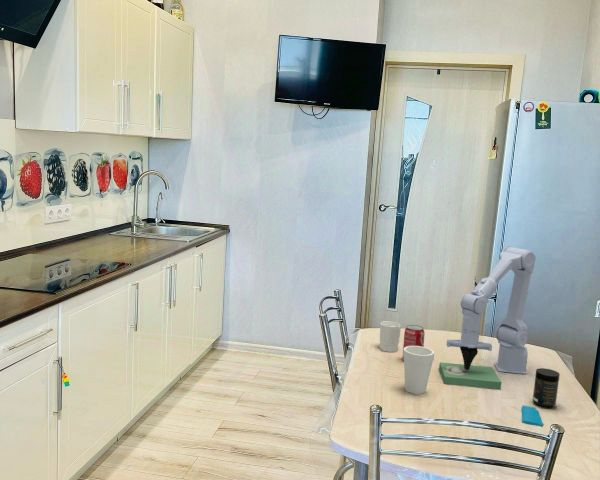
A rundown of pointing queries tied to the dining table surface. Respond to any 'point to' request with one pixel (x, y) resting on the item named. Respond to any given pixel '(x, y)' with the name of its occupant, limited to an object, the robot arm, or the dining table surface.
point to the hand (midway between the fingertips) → (466, 368)
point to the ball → (456, 369)
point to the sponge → (531, 416)
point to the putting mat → (470, 376)
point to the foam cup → (417, 368)
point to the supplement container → (545, 388)
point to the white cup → (389, 336)
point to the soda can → (413, 336)
